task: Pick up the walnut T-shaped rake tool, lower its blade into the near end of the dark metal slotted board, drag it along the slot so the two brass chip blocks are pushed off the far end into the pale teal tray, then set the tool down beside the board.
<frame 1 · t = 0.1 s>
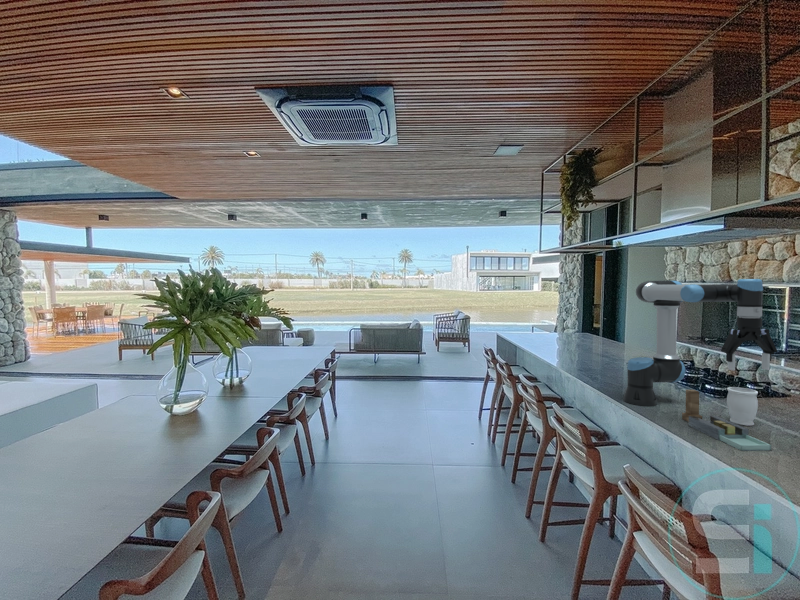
hand: (748, 369, 155), 28 cm above the counter, fingers open, 13 cm apart
jar: (741, 423, 173), on the counter
chip a: (720, 428, 160), point 2 cm above the counter, touching slot board
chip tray: (744, 445, 149), on the counter
rake tool: (692, 420, 176), on the counter
slot board: (717, 432, 162), on the counter
chip b: (728, 432, 156), point 2 cm above the counter, touching slot board
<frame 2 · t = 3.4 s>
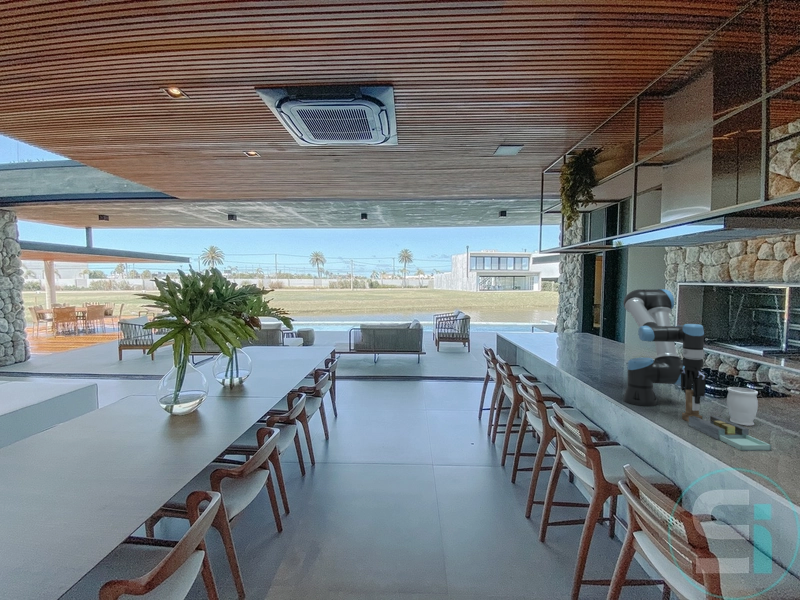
hand: (692, 408, 176), 6 cm above the counter, fingers closed on rake tool, 3 cm apart
rake tool: (692, 420, 176), on the counter, touching gripper
everything else where it was.
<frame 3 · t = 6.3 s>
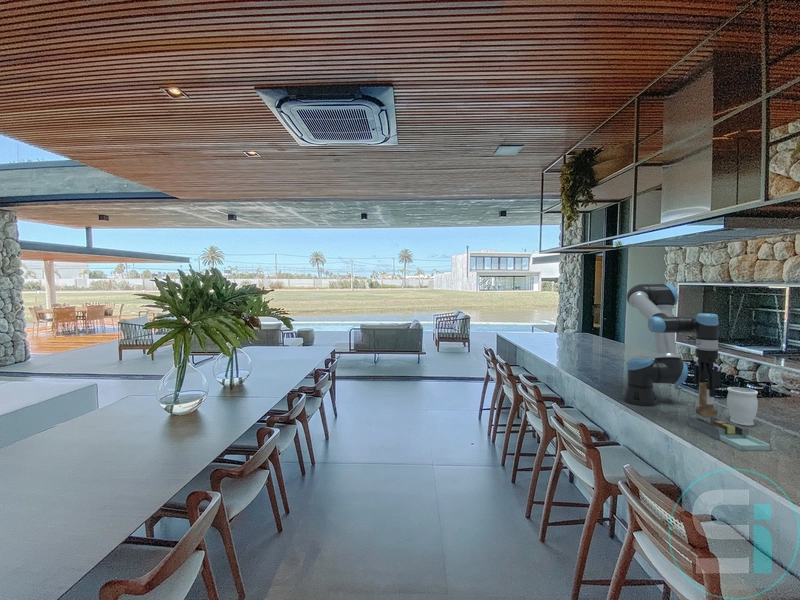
hand: (706, 402, 167), 11 cm above the counter, fingers closed on rake tool, 3 cm apart
rake tool: (706, 415, 167), point 5 cm above the counter, touching gripper
everything else where it was.
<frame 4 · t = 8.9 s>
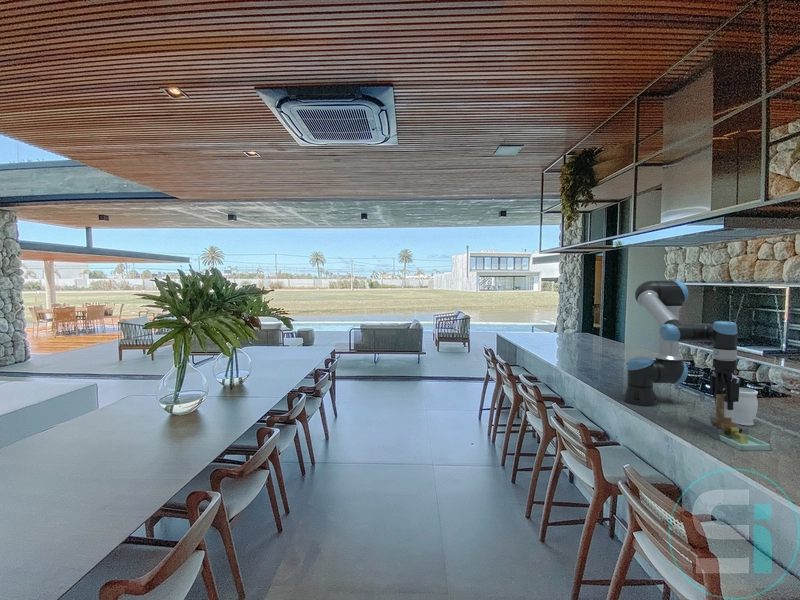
hand: (723, 415, 158), 8 cm above the counter, fingers closed on rake tool, 3 cm apart
chip a: (731, 434, 155), point 2 cm above the counter, touching rake tool
rake tool: (723, 428, 158), point 3 cm above the counter, touching chip a, gripper
chip b: (737, 436, 152), point 2 cm above the counter, tilted 90°, touching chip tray
everything else where it was.
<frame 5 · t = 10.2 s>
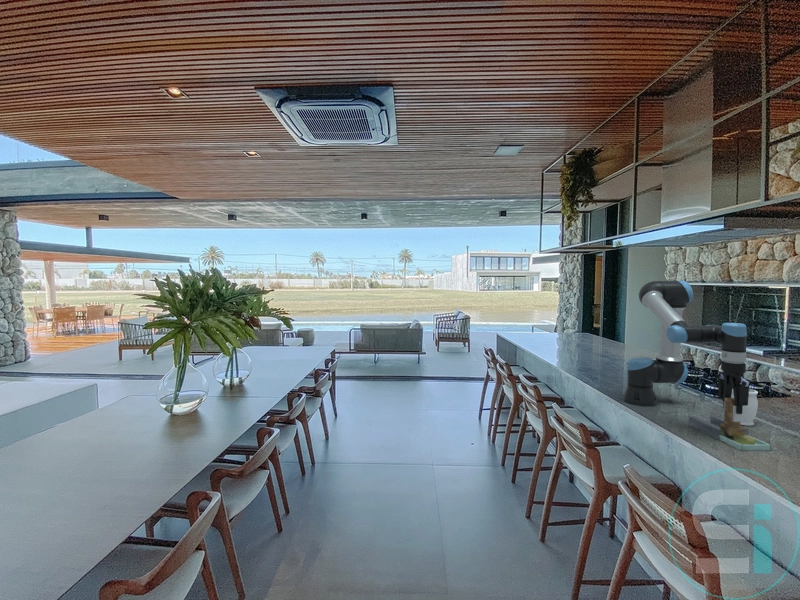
hand: (732, 419, 154), 8 cm above the counter, fingers closed on rake tool, 3 cm apart
chip a: (740, 442, 151), point 1 cm above the counter, touching chip b, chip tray, rake tool
rake tool: (731, 433, 154), point 2 cm above the counter, touching chip a, gripper
chip b: (744, 439, 149), point 2 cm above the counter, tilted 90°, touching chip a, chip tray
everything else where it was.
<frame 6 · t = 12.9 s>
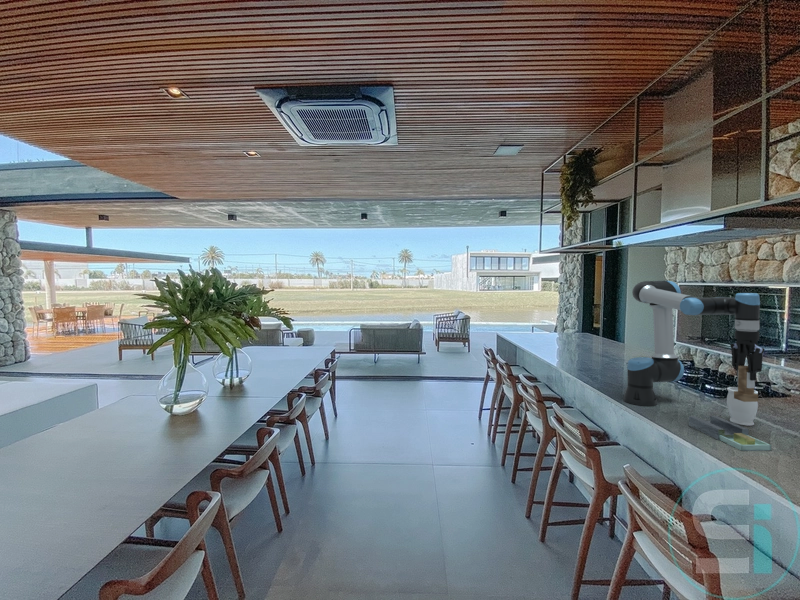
hand: (746, 386, 159), 20 cm above the counter, fingers closed on rake tool, 3 cm apart
chip a: (740, 442, 151), resting on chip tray
rake tool: (745, 399, 159), point 14 cm above the counter, touching gripper
chip b: (744, 439, 149), point 2 cm above the counter, tilted 90°, touching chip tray
everything else where it was.
when the fingers open (7 cm above the counter, at t = 15.3 s): rake tool drops 1 cm, on the counter.
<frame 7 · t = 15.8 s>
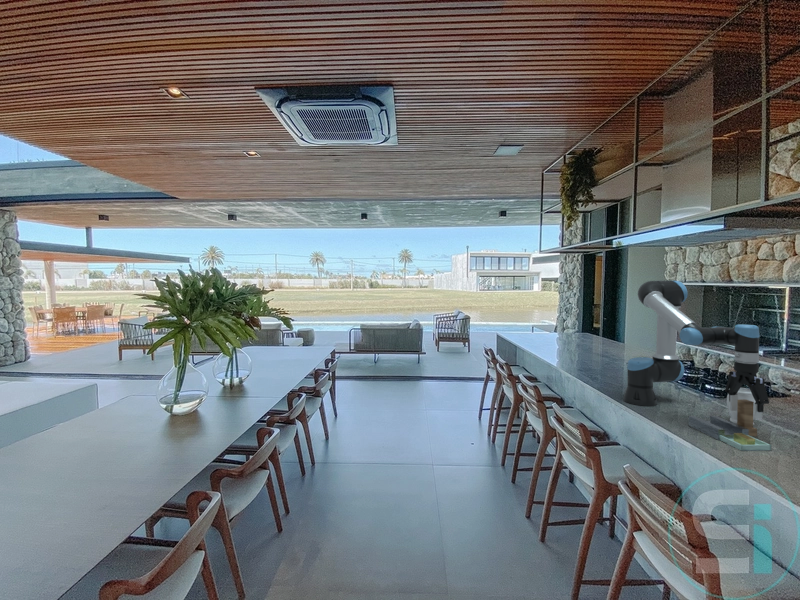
hand: (745, 414, 160), 8 cm above the counter, fingers open, 10 cm apart
rake tool: (744, 433, 160), on the counter
everything else where it was.
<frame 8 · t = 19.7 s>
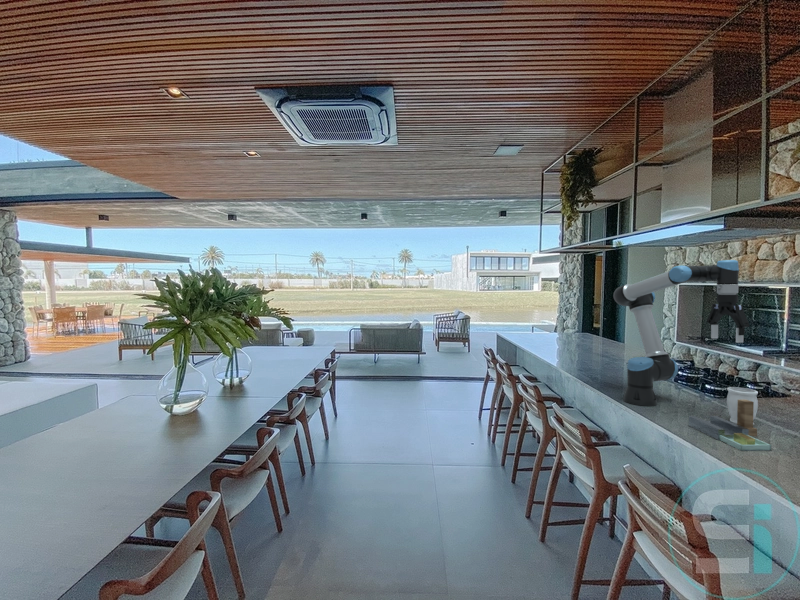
hand: (726, 340, 175), 37 cm above the counter, fingers open, 13 cm apart
nothing on the counter moved.
at the end: chip a inside the target area on the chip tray (1.9 cm from its centre), point 0.5 cm above the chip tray's base; chip b inside the target area on the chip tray (0.5 cm from its centre), point 2.0 cm above the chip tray's base; rake tool inside the target area (0.3 cm from its centre), on the counter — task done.
